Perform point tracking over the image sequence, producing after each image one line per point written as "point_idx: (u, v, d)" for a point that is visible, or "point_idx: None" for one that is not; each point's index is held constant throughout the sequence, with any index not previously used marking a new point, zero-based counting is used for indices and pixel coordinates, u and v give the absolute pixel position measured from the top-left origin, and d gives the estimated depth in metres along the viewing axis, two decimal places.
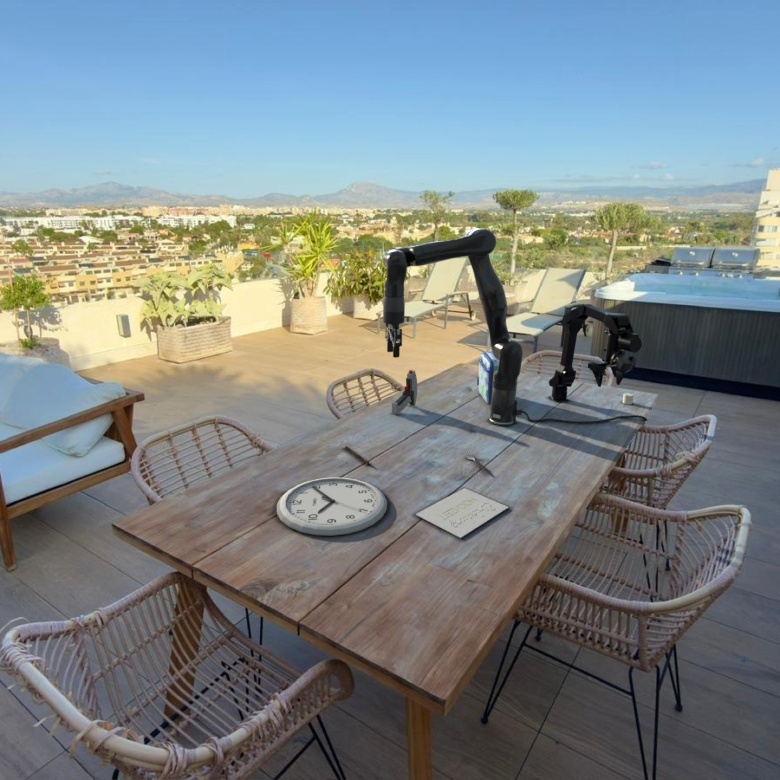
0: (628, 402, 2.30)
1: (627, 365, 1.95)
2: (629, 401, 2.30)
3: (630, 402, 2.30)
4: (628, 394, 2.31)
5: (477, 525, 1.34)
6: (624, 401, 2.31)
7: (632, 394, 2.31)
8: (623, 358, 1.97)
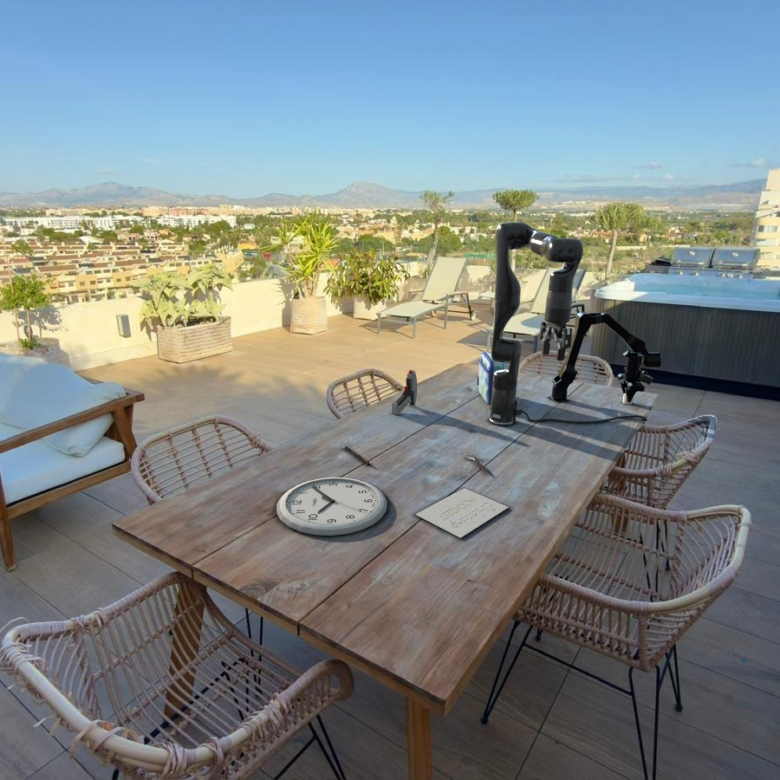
0: (628, 402, 2.30)
1: None
2: None
3: (630, 402, 2.30)
4: None
5: (477, 525, 1.34)
6: (624, 401, 2.31)
7: None
8: (644, 374, 2.27)
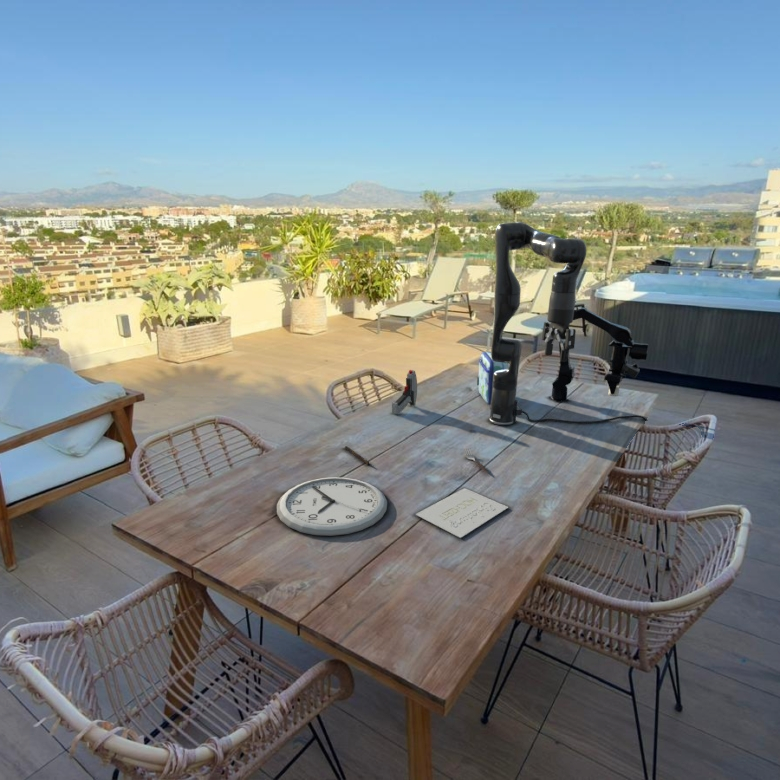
0: (612, 394, 2.23)
1: None
2: None
3: (614, 394, 2.22)
4: None
5: (477, 525, 1.34)
6: (609, 392, 2.24)
7: (618, 386, 2.22)
8: (631, 367, 2.17)
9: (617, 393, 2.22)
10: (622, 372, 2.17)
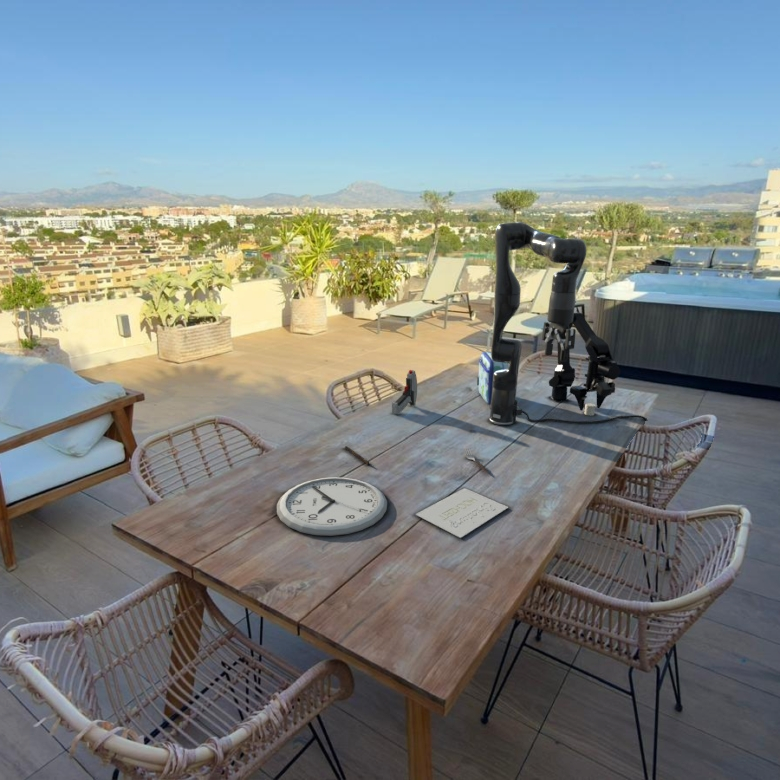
0: (585, 412, 2.17)
1: (606, 391, 2.06)
2: (586, 411, 2.16)
3: (587, 412, 2.16)
4: (590, 404, 2.16)
5: (477, 525, 1.34)
6: None
7: (593, 406, 2.15)
8: (603, 384, 2.08)
9: (590, 412, 2.15)
10: (591, 388, 2.10)
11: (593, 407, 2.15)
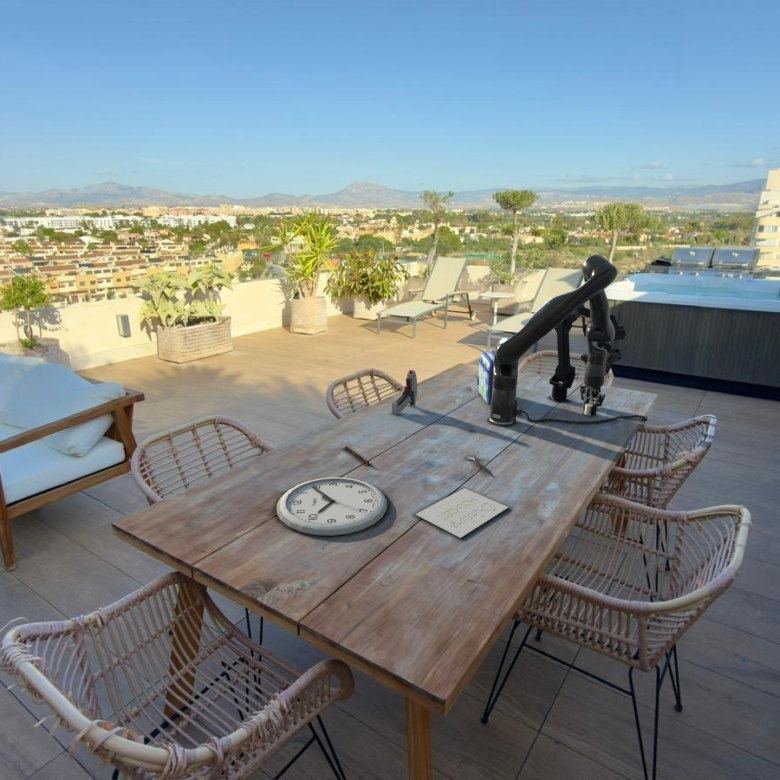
0: (585, 412, 2.17)
1: (613, 356, 2.30)
2: (586, 411, 2.16)
3: (587, 412, 2.16)
4: (590, 404, 2.16)
5: (477, 525, 1.34)
6: None
7: None
8: (610, 351, 2.32)
9: None
10: None
11: None
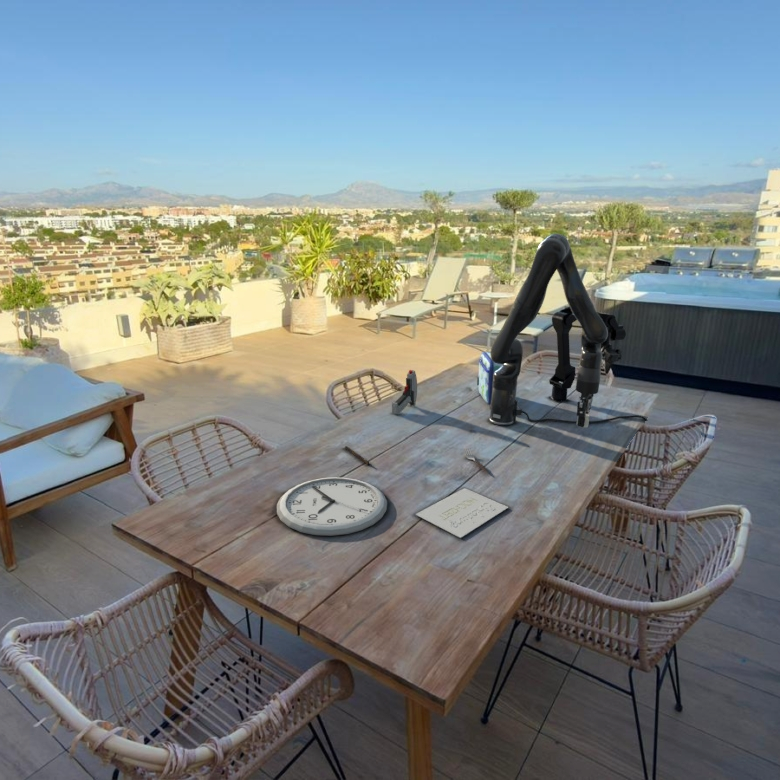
0: None
1: (613, 356, 2.30)
2: None
3: (577, 422, 1.88)
4: None
5: (477, 525, 1.34)
6: None
7: None
8: (610, 351, 2.32)
9: None
10: None
11: None
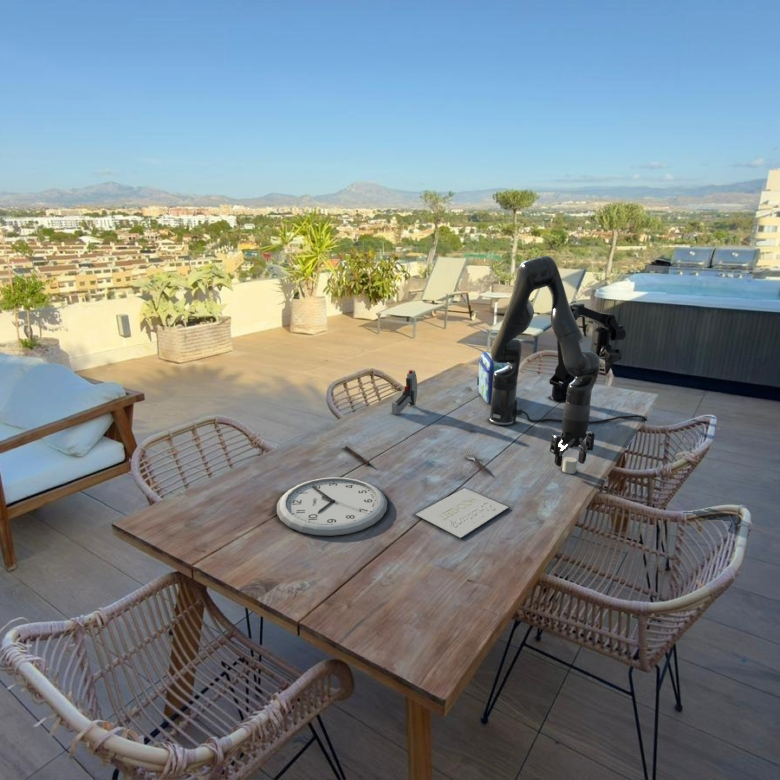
0: None
1: (613, 356, 2.30)
2: None
3: None
4: (570, 459, 1.65)
5: (477, 525, 1.34)
6: None
7: (566, 460, 1.64)
8: (610, 351, 2.32)
9: None
10: (600, 354, 2.35)
11: (564, 461, 1.64)
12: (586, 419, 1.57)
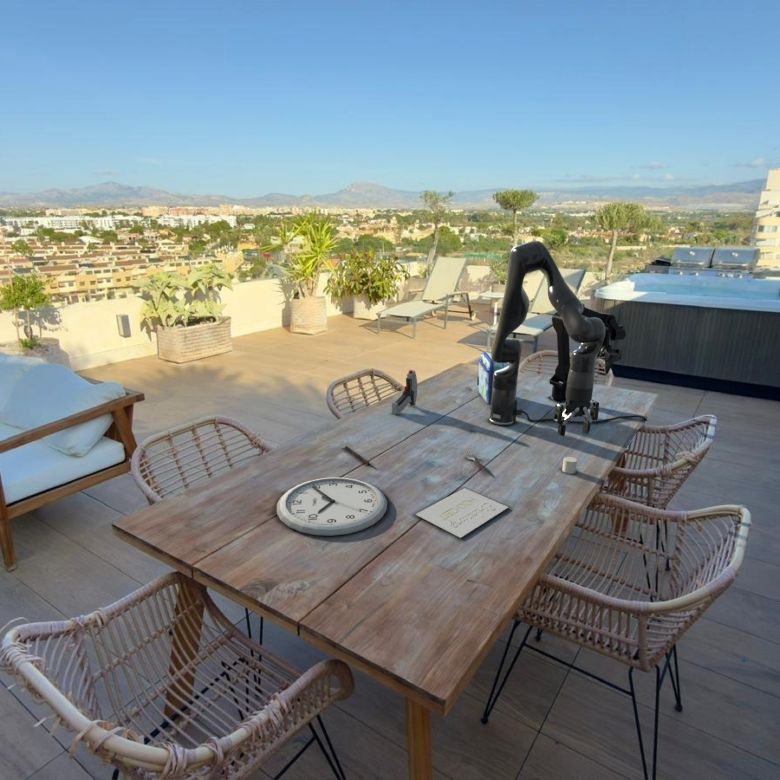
0: None
1: (613, 356, 2.30)
2: None
3: None
4: (570, 459, 1.65)
5: (477, 525, 1.34)
6: None
7: (566, 460, 1.64)
8: (610, 351, 2.32)
9: None
10: (600, 354, 2.35)
11: (564, 461, 1.64)
12: (590, 387, 1.54)
